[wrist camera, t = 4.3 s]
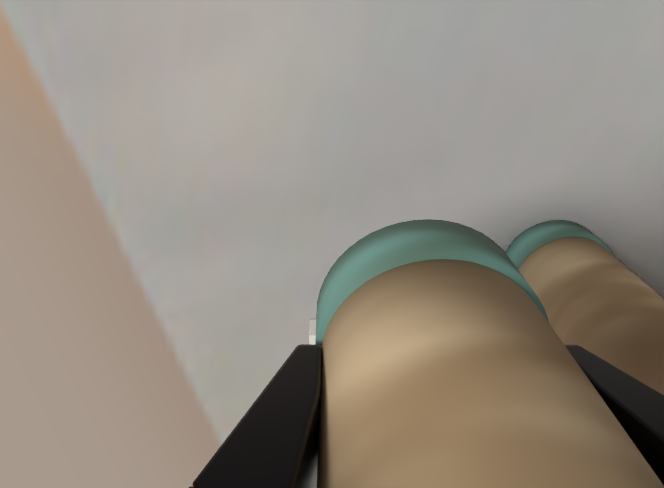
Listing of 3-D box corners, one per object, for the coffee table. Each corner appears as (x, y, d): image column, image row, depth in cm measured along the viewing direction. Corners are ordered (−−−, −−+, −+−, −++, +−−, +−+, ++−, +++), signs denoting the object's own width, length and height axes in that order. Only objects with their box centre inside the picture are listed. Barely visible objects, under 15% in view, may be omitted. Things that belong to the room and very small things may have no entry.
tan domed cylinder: (608, 218, 20) (736, 314, 14) (588, 304, 22) (692, 424, 15) (506, 221, 20) (587, 318, 14) (495, 306, 22) (561, 426, 16)
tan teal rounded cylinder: (540, 219, 9) (1038, 707, 3) (504, 392, 11) (749, 923, 5) (315, 218, 9) (283, 709, 3) (317, 392, 11) (300, 929, 4)
